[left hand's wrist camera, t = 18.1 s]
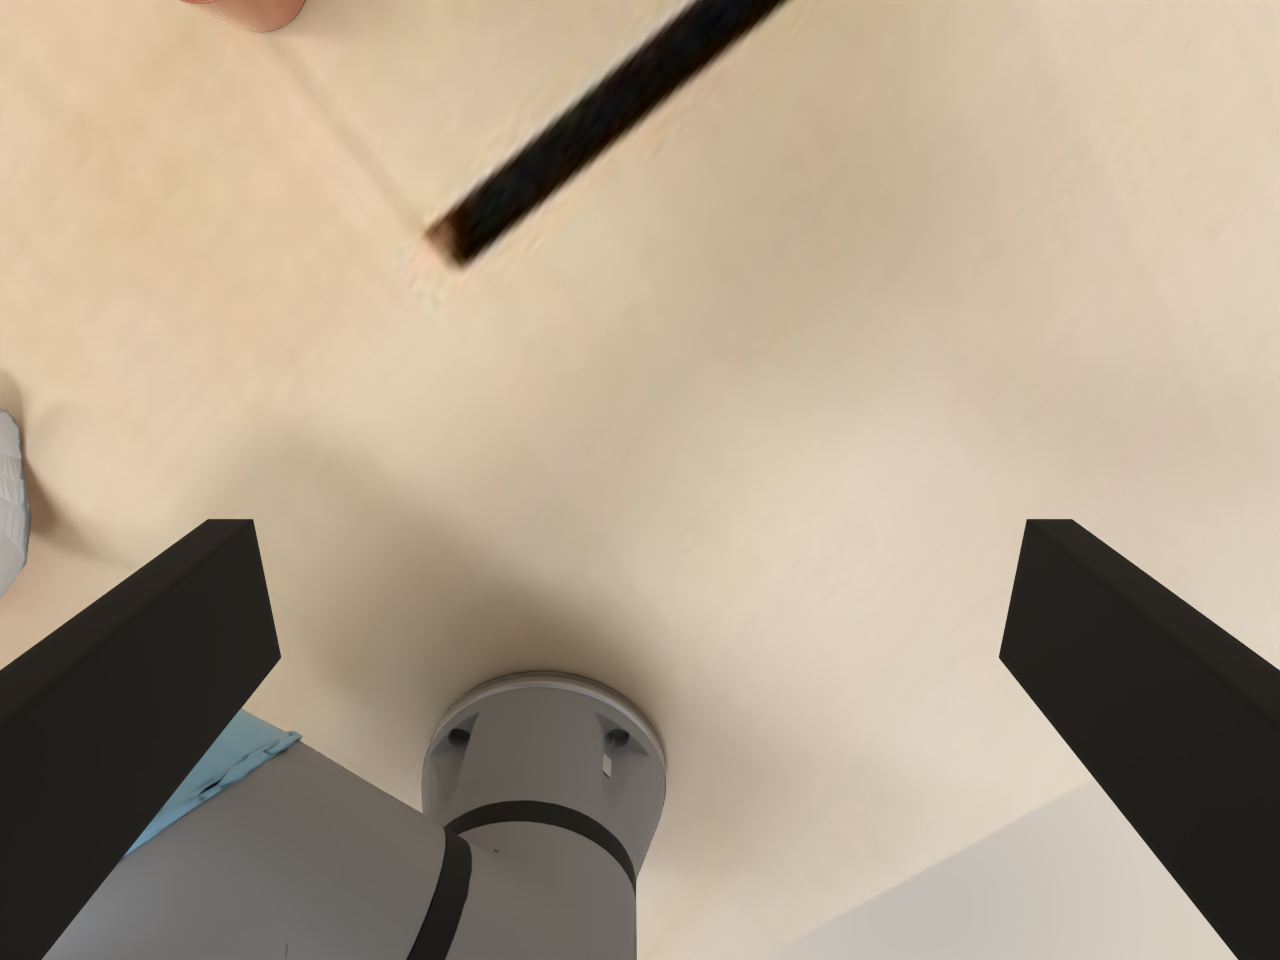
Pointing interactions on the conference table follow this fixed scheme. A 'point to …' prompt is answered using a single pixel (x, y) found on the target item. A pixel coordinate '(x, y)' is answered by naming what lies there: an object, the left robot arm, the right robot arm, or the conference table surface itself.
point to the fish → (12, 503)
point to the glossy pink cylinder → (251, 12)
